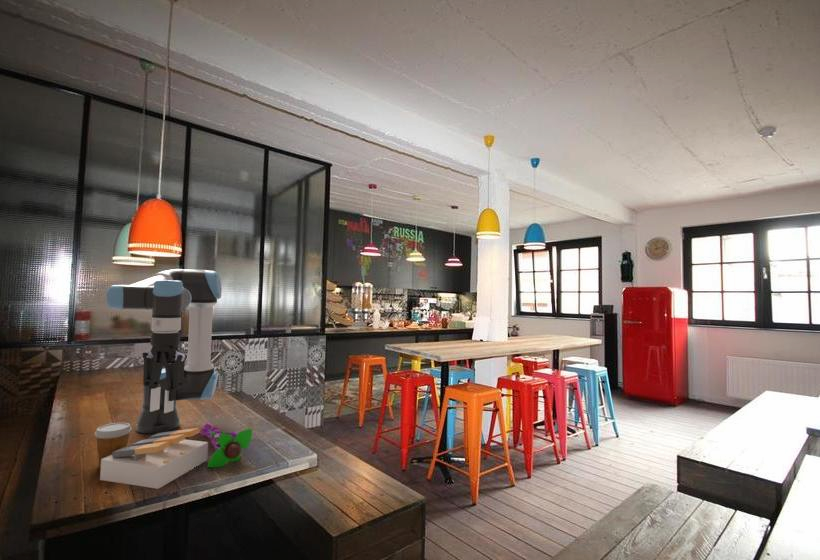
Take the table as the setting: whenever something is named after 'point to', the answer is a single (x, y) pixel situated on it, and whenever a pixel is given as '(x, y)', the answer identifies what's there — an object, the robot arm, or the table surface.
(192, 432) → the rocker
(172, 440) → the rocker mid
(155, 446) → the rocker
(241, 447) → the potted plant
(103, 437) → the disposable coffee cup
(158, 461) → the switch box
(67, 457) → the table surface
